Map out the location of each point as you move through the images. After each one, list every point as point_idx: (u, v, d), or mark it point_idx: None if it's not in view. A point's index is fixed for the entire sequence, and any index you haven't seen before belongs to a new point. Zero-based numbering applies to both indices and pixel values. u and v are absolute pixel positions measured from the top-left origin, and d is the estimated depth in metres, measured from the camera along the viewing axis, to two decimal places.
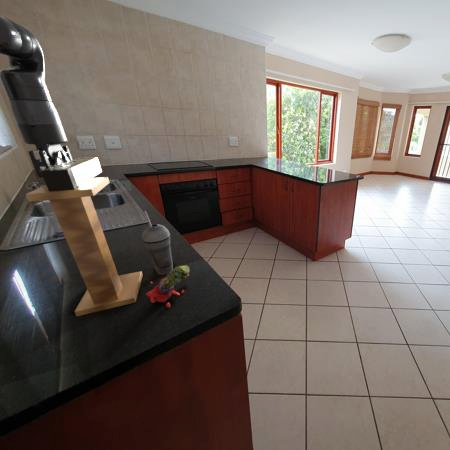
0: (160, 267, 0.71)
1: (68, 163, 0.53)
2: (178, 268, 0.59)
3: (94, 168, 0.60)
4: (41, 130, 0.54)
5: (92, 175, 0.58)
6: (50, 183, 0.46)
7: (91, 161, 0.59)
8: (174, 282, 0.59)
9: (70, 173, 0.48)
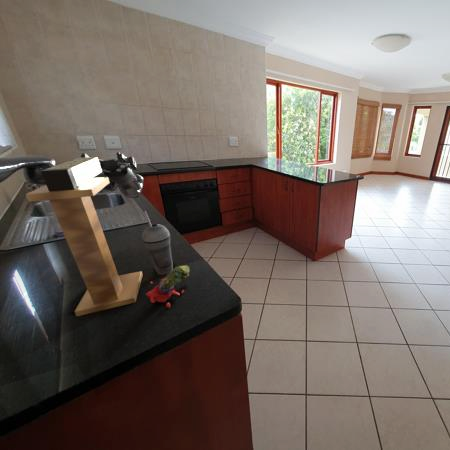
0: (160, 267, 0.71)
1: (68, 163, 0.53)
2: (178, 268, 0.59)
3: (94, 168, 0.60)
4: None
5: (92, 175, 0.58)
6: (50, 183, 0.46)
7: (91, 161, 0.59)
8: (174, 282, 0.59)
9: (70, 173, 0.48)
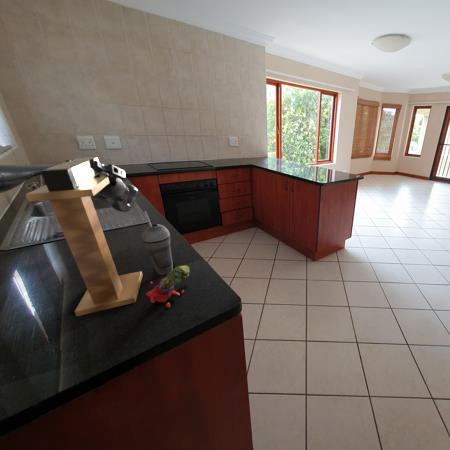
0: (160, 267, 0.71)
1: (68, 163, 0.53)
2: (178, 268, 0.59)
3: None
4: None
5: (92, 175, 0.58)
6: (50, 183, 0.46)
7: None
8: (174, 282, 0.59)
9: (70, 173, 0.48)
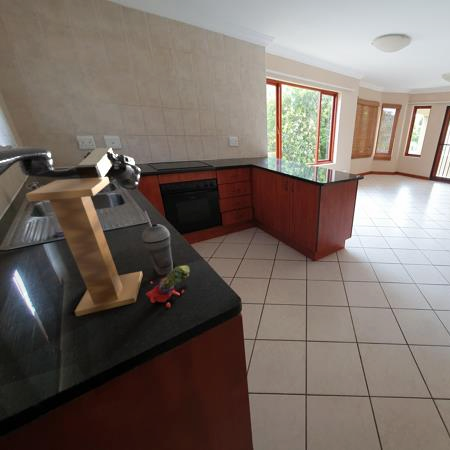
0: (160, 267, 0.71)
1: (91, 157, 0.66)
2: (178, 268, 0.59)
3: None
4: None
5: (109, 165, 0.71)
6: (83, 177, 0.60)
7: None
8: (174, 282, 0.59)
9: (97, 169, 0.61)
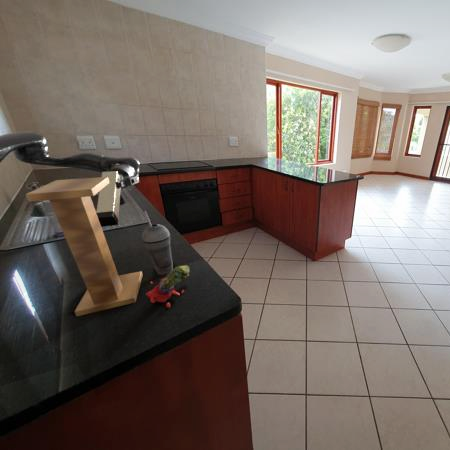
0: (160, 267, 0.71)
1: (104, 194, 0.71)
2: (178, 268, 0.59)
3: None
4: None
5: (119, 195, 0.76)
6: (102, 223, 0.68)
7: None
8: (174, 282, 0.59)
9: (114, 216, 0.68)
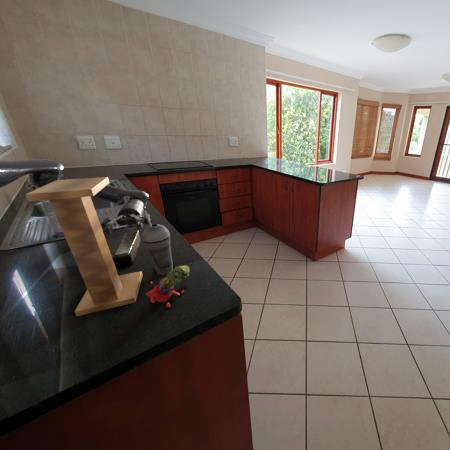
0: (160, 267, 0.71)
1: (124, 243, 0.81)
2: (178, 268, 0.59)
3: (137, 241, 0.88)
4: None
5: (137, 247, 0.86)
6: (118, 263, 0.74)
7: (136, 237, 0.87)
8: (174, 282, 0.59)
9: (129, 256, 0.76)
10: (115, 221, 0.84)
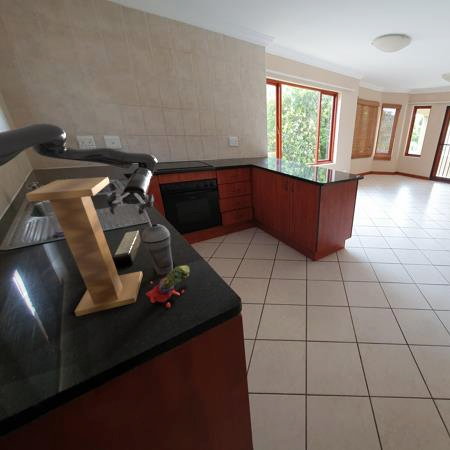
0: (160, 267, 0.71)
1: (124, 243, 0.81)
2: (178, 268, 0.59)
3: (137, 241, 0.88)
4: None
5: (137, 247, 0.86)
6: (118, 263, 0.74)
7: (136, 237, 0.87)
8: (174, 282, 0.59)
9: (129, 256, 0.76)
10: (120, 200, 0.89)
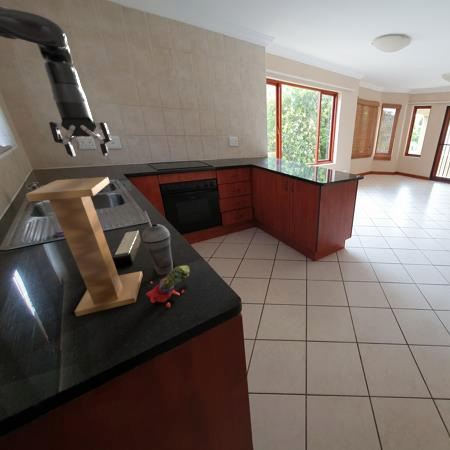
0: (160, 267, 0.71)
1: (124, 243, 0.81)
2: (178, 268, 0.59)
3: (137, 241, 0.88)
4: (57, 107, 0.71)
5: (137, 247, 0.86)
6: (118, 263, 0.74)
7: (136, 237, 0.87)
8: (174, 282, 0.59)
9: (129, 256, 0.76)
10: (70, 138, 0.75)
